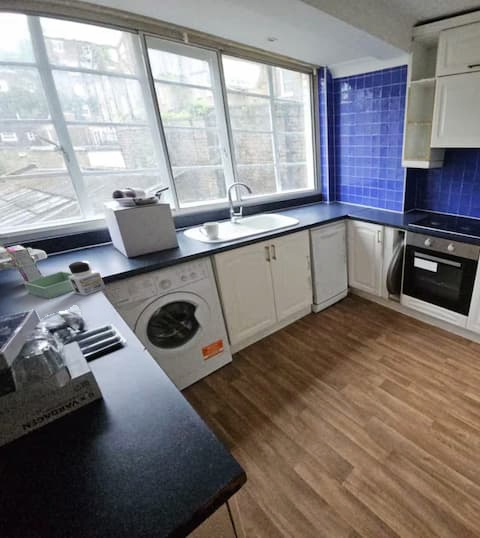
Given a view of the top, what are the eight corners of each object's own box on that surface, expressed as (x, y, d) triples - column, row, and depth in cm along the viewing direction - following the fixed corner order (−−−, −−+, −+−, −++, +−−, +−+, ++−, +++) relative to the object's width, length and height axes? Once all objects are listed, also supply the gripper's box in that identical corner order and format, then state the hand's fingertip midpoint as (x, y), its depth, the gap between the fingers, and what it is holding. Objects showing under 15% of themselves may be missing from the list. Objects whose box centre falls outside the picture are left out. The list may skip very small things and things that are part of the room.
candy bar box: (24, 281, 136) (4, 248, 129) (38, 276, 140) (20, 244, 133) (31, 286, 130) (10, 252, 123) (46, 281, 134) (27, 248, 127)
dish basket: (49, 298, 121) (44, 288, 119) (28, 292, 126) (23, 282, 124) (86, 285, 132) (82, 275, 130) (66, 280, 138) (61, 271, 136)
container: (85, 295, 122) (72, 267, 117) (74, 293, 125) (61, 264, 120) (106, 287, 129) (94, 260, 124) (95, 285, 131) (83, 258, 126)
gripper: (-29, 261, 127) (-13, 264, 122) (33, 246, 144) (49, 249, 139) (-21, 274, 129) (-6, 278, 125) (39, 258, 147) (55, 261, 142)
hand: (24, 262), depth 132 cm, fingers closed on candy bar box, 5 cm apart
